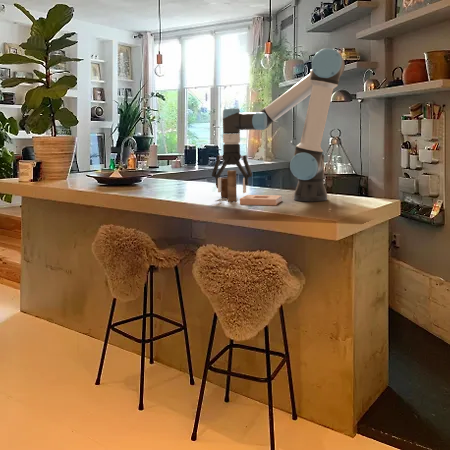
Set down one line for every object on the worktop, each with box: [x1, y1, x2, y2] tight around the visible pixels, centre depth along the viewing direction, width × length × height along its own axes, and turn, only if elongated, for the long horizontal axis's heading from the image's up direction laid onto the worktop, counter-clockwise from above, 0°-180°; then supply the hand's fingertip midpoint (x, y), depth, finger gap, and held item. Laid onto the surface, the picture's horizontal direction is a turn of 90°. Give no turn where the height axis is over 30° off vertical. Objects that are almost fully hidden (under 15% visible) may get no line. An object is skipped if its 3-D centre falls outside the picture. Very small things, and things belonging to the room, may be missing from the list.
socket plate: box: [239, 194, 283, 206], centre depth 235 cm, size 14×16×2 cm
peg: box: [226, 169, 238, 203], centre depth 240 cm, size 4×4×14 cm
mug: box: [215, 176, 228, 199], centre depth 254 cm, size 12×8×9 cm, turn 135°
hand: (232, 192), depth 240 cm, fingers open, 11 cm apart
